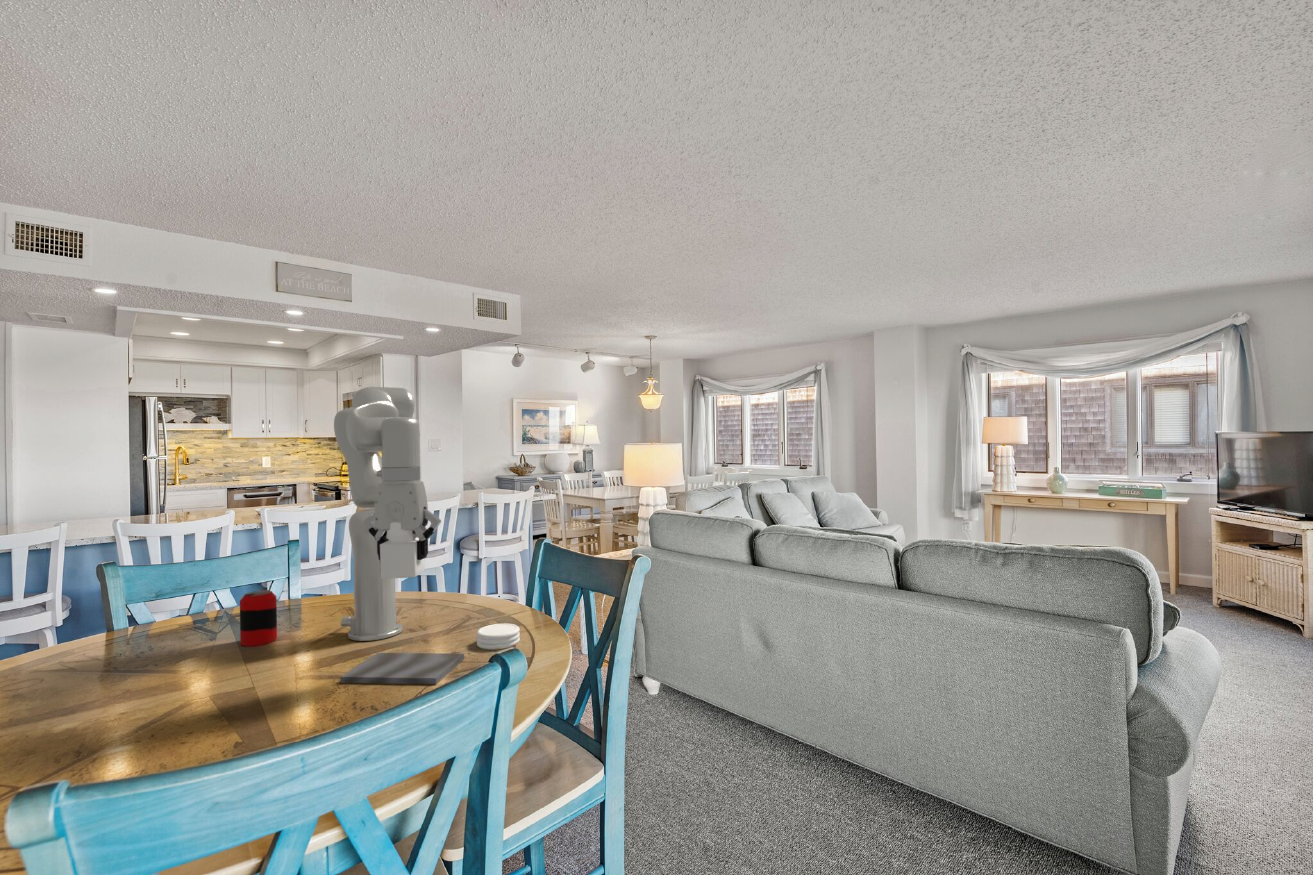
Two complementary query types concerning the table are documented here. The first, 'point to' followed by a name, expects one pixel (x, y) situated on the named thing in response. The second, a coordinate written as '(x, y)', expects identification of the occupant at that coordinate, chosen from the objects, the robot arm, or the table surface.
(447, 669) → the charcoal board
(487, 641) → the coaster
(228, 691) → the table surface
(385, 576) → the medicine bottle
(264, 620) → the soda can
